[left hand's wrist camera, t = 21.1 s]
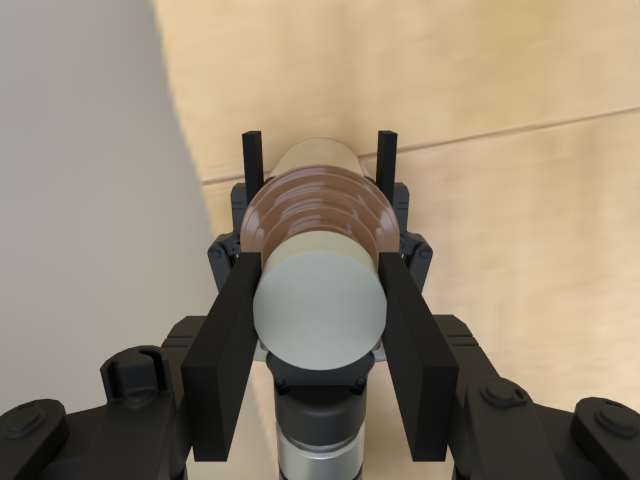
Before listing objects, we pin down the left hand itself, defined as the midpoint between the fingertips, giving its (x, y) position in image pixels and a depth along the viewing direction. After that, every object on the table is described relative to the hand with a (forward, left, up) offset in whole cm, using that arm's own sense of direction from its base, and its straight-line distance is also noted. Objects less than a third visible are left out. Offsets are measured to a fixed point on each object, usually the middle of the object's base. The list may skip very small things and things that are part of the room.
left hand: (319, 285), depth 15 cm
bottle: (0, 0, -18) cm, 18 cm away
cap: (0, 0, +2) cm, 2 cm away
